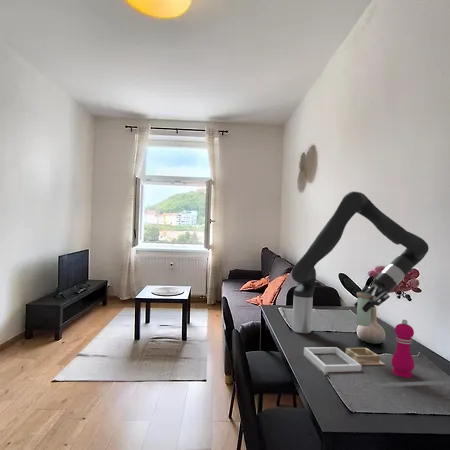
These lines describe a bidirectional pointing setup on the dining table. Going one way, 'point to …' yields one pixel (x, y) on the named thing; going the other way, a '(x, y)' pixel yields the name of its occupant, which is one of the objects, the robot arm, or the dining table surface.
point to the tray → (331, 368)
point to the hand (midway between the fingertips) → (359, 308)
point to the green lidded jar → (362, 316)
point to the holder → (363, 356)
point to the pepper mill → (403, 350)
